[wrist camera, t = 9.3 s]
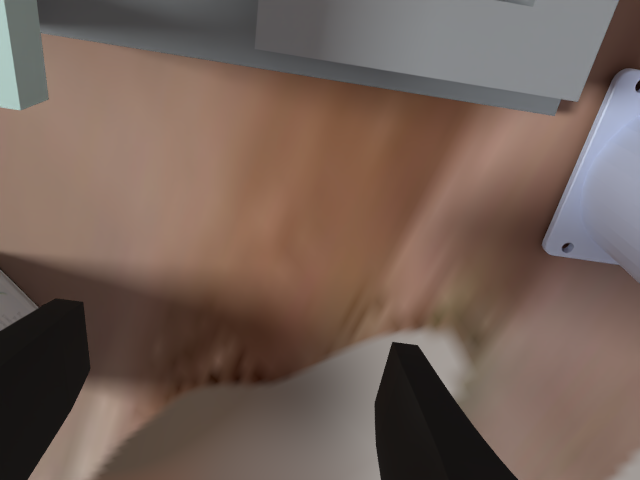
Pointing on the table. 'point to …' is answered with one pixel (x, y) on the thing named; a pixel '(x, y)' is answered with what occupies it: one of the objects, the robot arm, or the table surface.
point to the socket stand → (335, 42)
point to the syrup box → (13, 302)
